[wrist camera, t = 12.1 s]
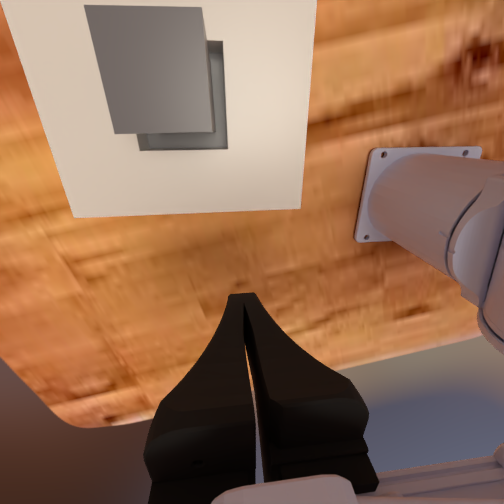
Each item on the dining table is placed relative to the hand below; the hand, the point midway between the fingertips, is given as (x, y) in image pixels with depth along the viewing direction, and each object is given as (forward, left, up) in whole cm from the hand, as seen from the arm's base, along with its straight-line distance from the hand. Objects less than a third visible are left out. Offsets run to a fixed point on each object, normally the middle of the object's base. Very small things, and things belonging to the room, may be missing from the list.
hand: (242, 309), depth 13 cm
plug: (+3, -10, -10) cm, 14 cm away
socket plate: (+3, -10, -10) cm, 14 cm away
